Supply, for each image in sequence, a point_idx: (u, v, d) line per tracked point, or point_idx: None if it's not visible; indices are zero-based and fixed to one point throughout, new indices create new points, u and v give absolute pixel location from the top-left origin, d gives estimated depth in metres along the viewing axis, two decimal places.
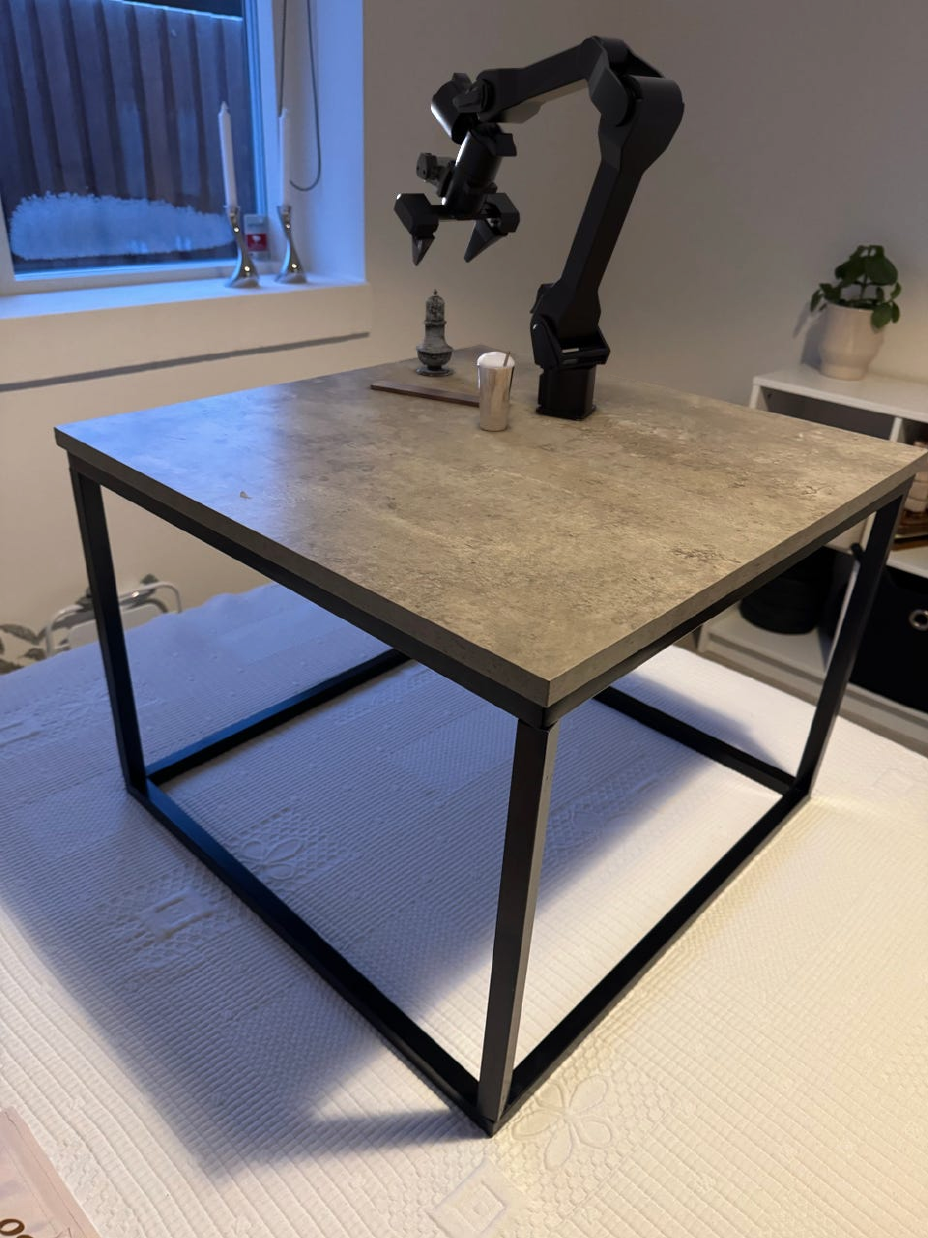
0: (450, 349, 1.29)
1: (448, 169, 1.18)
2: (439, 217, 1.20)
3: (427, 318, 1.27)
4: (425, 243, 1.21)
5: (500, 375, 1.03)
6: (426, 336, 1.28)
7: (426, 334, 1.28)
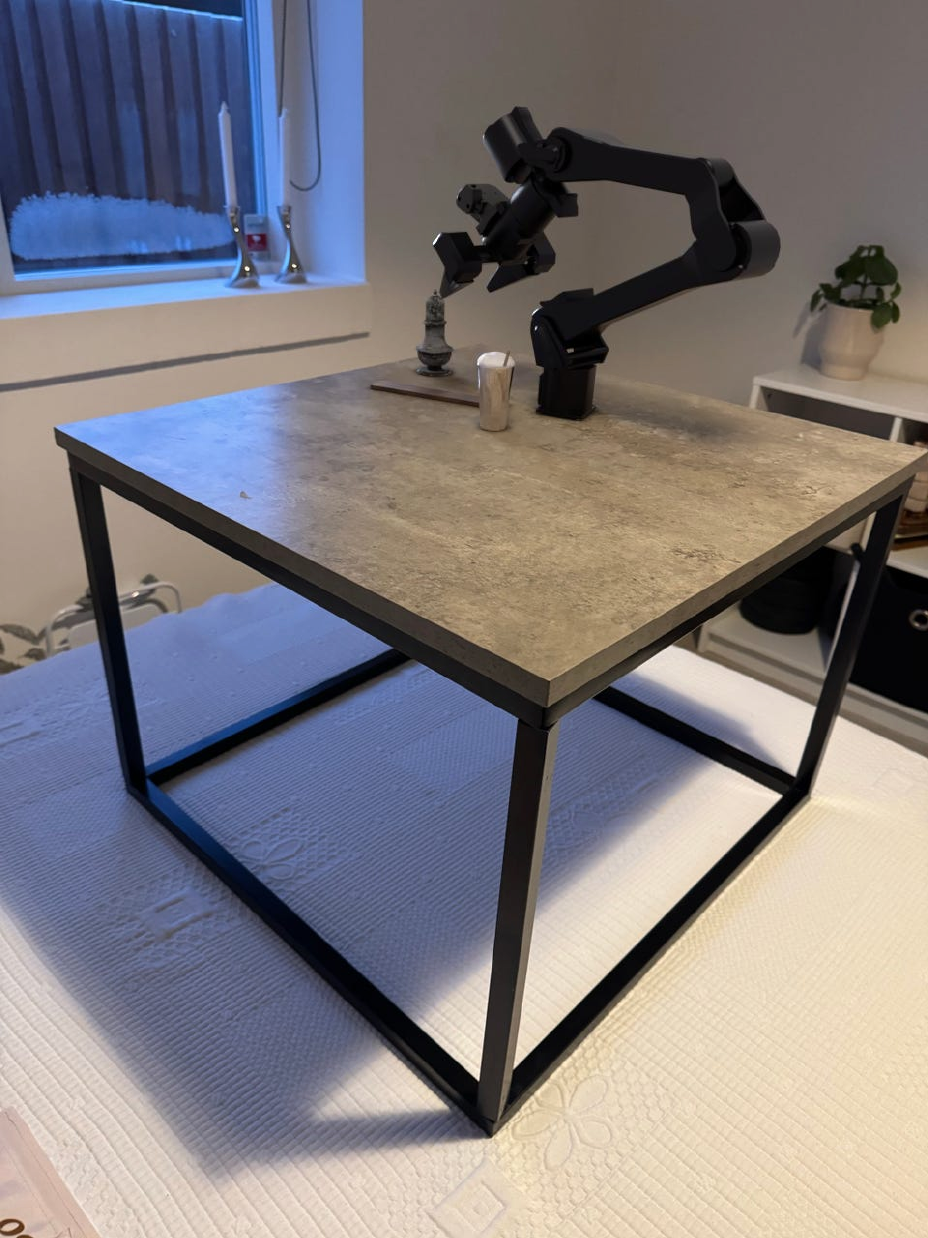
0: (450, 349, 1.29)
1: (496, 209, 1.10)
2: None
3: (427, 318, 1.27)
4: (462, 285, 1.13)
5: (500, 375, 1.03)
6: (426, 336, 1.28)
7: (426, 334, 1.28)
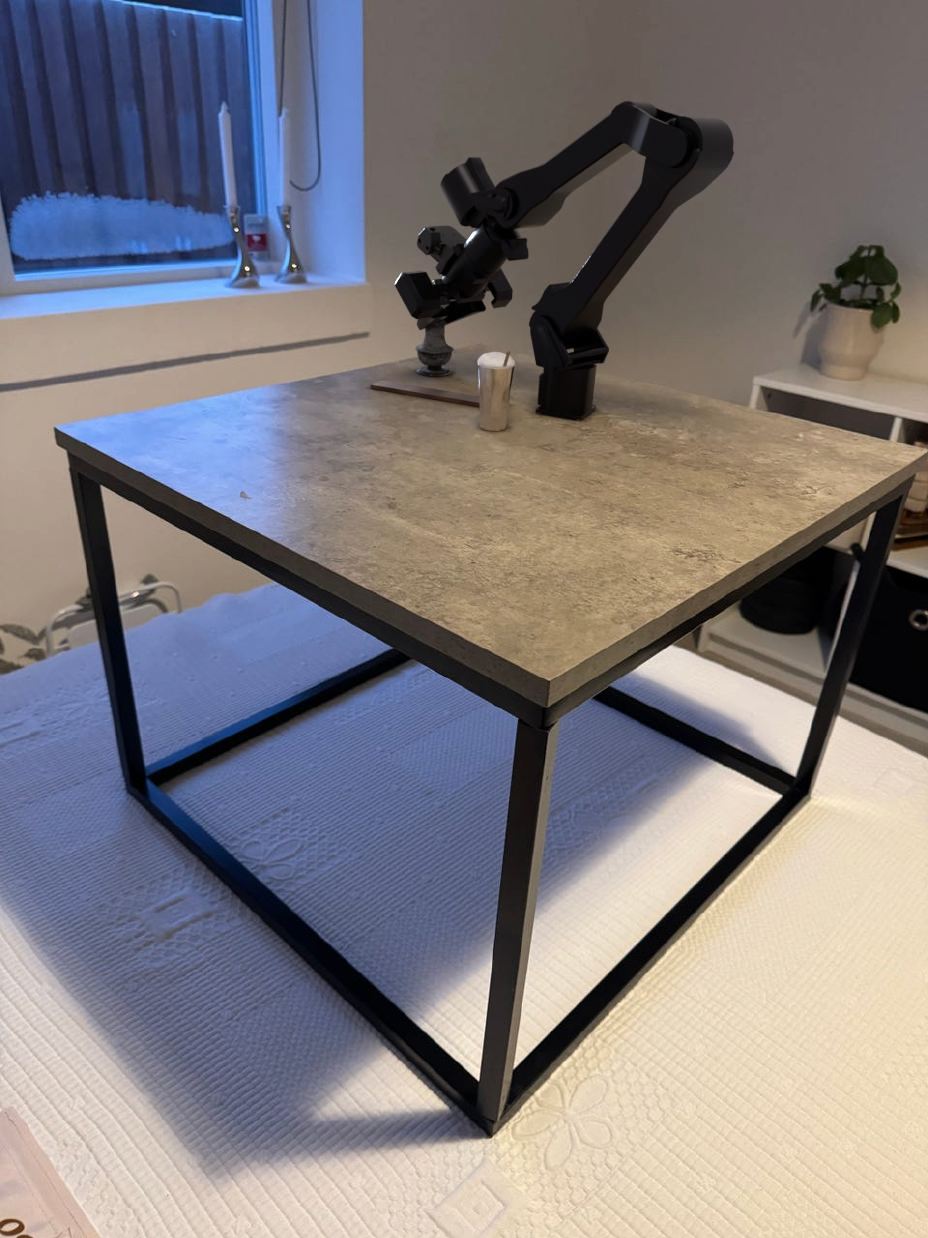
0: (450, 349, 1.29)
1: (453, 251, 1.17)
2: (439, 298, 1.19)
3: None
4: (437, 319, 1.22)
5: (500, 375, 1.03)
6: (426, 336, 1.28)
7: (426, 334, 1.28)
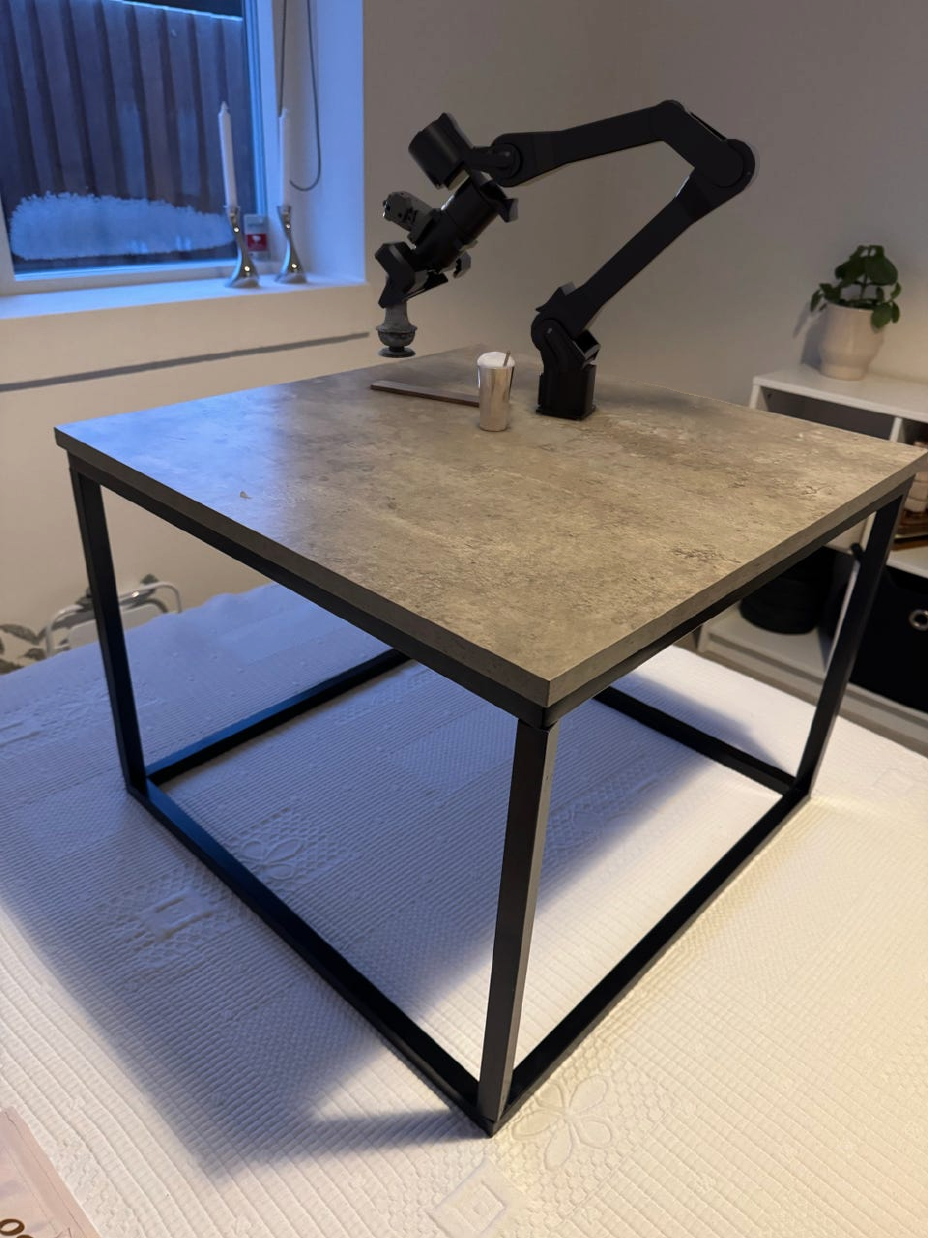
0: (415, 327, 1.19)
1: (430, 217, 1.08)
2: None
3: None
4: (414, 294, 1.12)
5: (500, 375, 1.03)
6: (390, 315, 1.17)
7: (389, 312, 1.17)
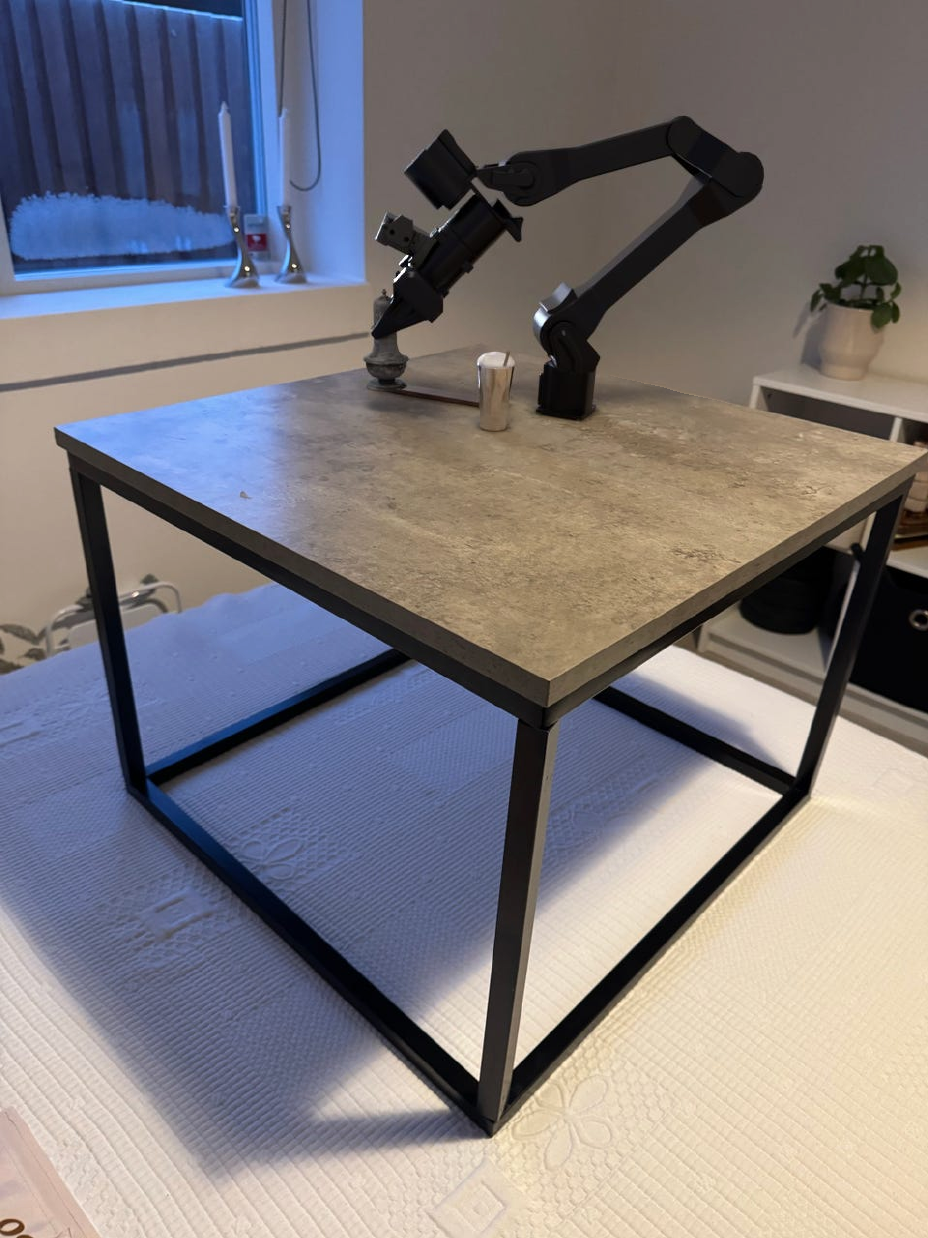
0: (404, 355, 1.11)
1: (435, 240, 1.01)
2: None
3: None
4: None
5: (500, 375, 1.03)
6: (384, 346, 1.08)
7: (383, 343, 1.08)
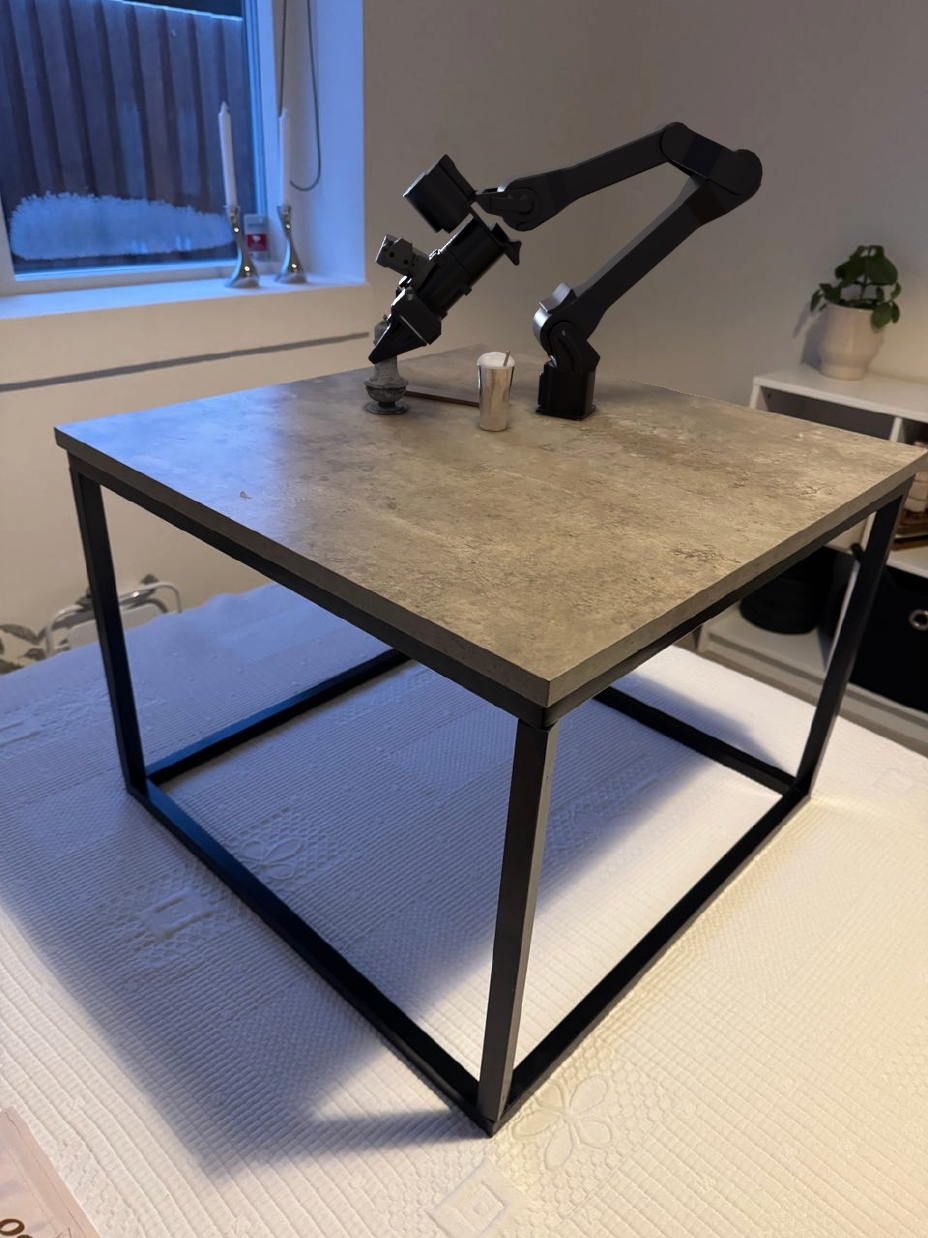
0: (404, 379, 1.13)
1: (434, 262, 1.02)
2: None
3: None
4: None
5: (500, 375, 1.03)
6: (384, 370, 1.10)
7: (383, 367, 1.09)
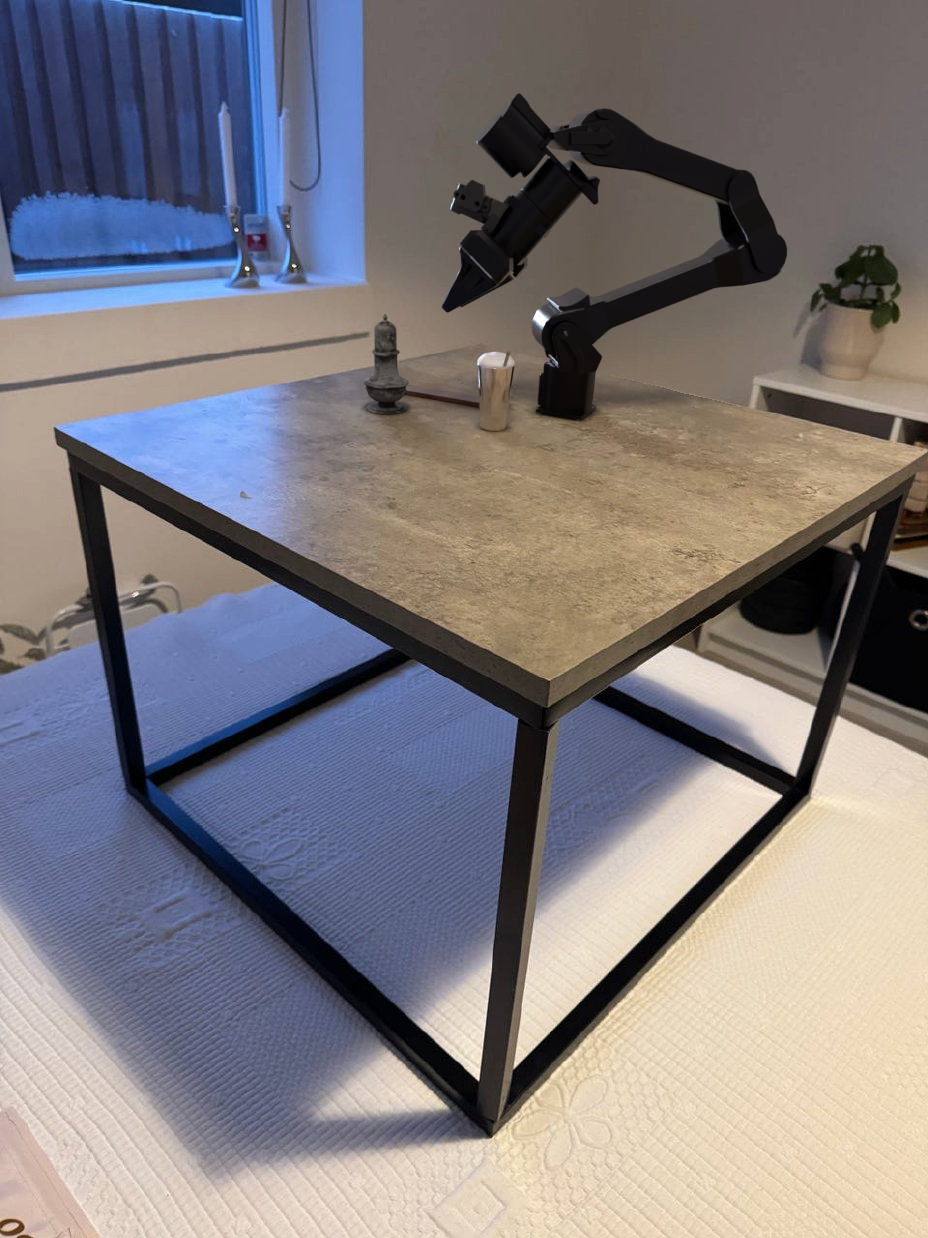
0: (404, 379, 1.13)
1: (507, 205, 1.01)
2: None
3: (384, 349, 1.08)
4: (489, 290, 1.01)
5: (500, 375, 1.03)
6: (384, 370, 1.10)
7: (383, 367, 1.09)
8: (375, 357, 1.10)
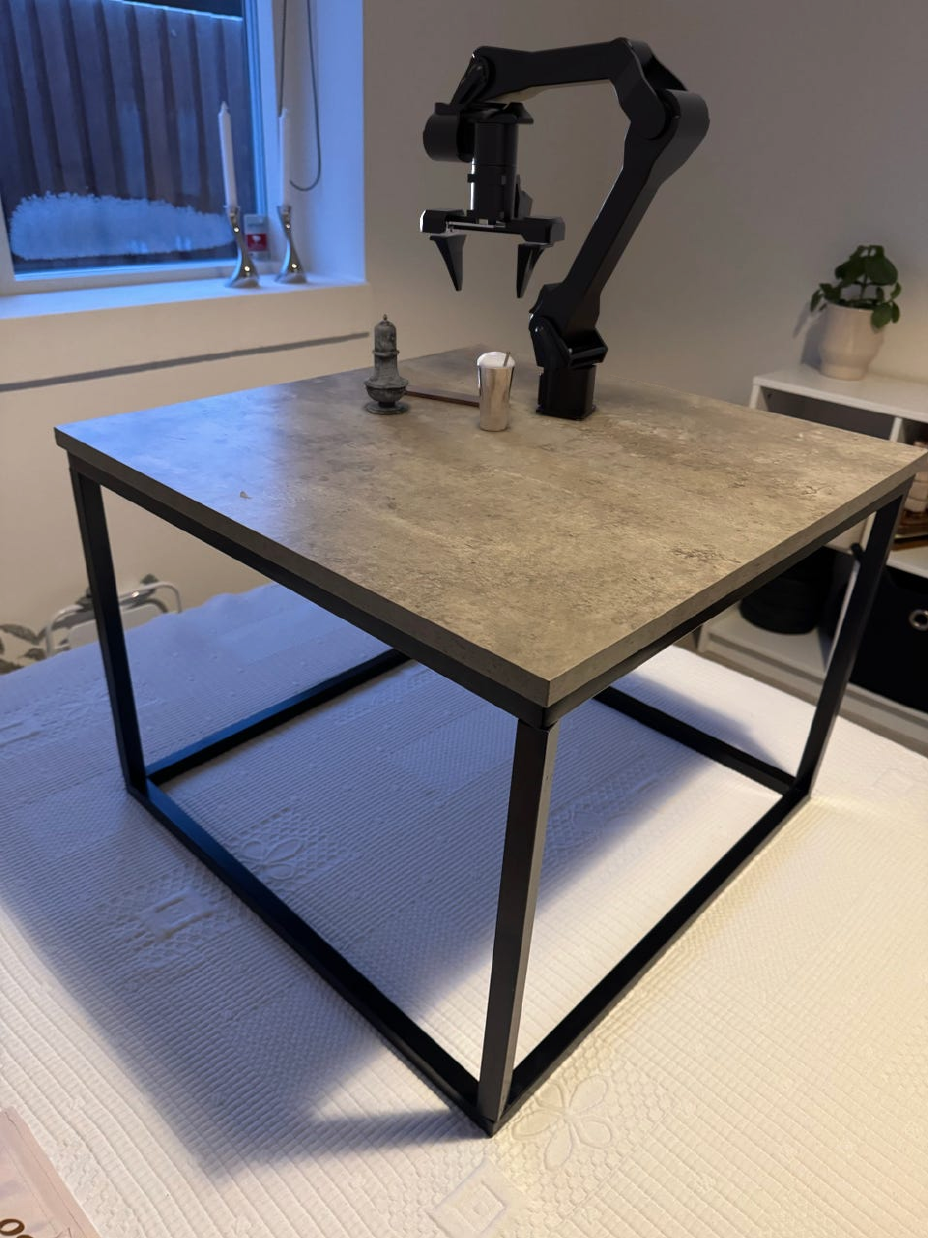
0: (404, 379, 1.13)
1: None
2: (459, 222, 1.13)
3: (384, 349, 1.08)
4: (440, 247, 1.14)
5: (500, 375, 1.03)
6: (384, 370, 1.10)
7: (383, 367, 1.09)
8: (375, 357, 1.10)
